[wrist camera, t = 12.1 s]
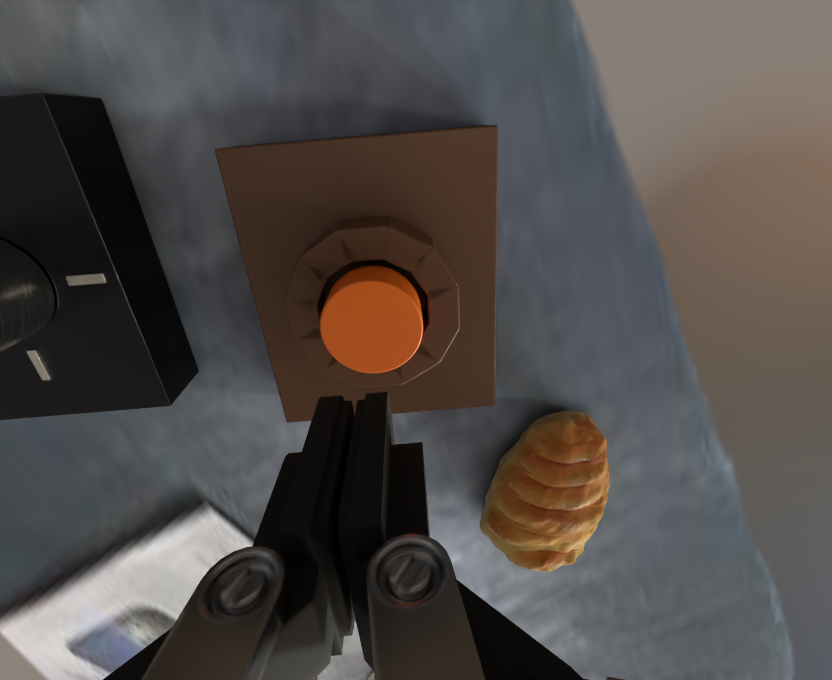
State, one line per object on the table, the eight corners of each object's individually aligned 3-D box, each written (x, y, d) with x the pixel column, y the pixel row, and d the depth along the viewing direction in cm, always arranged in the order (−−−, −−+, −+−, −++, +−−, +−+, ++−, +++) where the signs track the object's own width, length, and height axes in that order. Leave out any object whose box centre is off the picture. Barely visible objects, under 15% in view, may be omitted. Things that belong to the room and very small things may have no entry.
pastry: (504, 397, 23) (523, 445, 19) (623, 405, 23) (663, 453, 20) (473, 520, 27) (484, 577, 24) (576, 524, 28) (601, 581, 24)
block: (486, 380, 22) (503, 429, 19) (296, 396, 22) (277, 448, 19) (486, 124, 17) (510, 125, 13) (235, 146, 17) (191, 151, 13)
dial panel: (199, 371, 21) (169, 408, 19) (21, 385, 22) (-36, 425, 19) (101, 98, 16) (38, 92, 13) (-136, 118, 16) (-250, 117, 13)
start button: (424, 347, 17) (426, 369, 16) (335, 354, 17) (328, 377, 16) (417, 260, 16) (419, 275, 14) (319, 269, 16) (310, 285, 14)
